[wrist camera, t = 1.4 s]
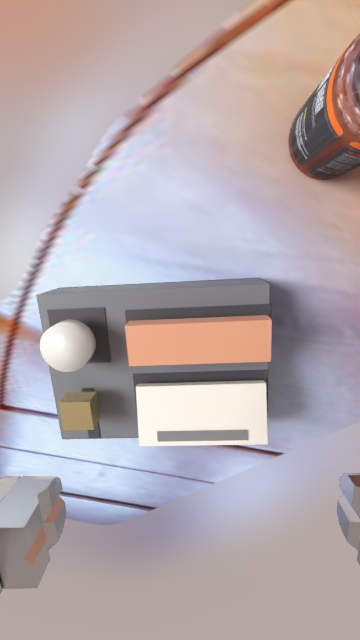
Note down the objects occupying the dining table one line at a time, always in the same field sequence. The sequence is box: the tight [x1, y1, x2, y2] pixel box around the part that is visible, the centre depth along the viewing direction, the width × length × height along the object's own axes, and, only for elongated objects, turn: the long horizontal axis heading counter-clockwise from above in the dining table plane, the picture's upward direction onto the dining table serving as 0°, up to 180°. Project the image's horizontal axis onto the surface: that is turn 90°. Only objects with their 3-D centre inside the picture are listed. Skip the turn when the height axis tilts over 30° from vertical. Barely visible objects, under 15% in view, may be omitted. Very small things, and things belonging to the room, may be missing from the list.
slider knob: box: [59, 392, 100, 430], centre depth 24 cm, size 2×2×2 cm
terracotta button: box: [125, 315, 272, 366], centre depth 21 cm, size 10×3×1 cm, turn 93°
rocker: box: [136, 380, 268, 446], centre depth 24 cm, size 10×5×1 cm, turn 93°
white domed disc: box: [40, 319, 96, 372], centre depth 22 cm, size 4×4×1 cm
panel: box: [36, 278, 271, 439], centre depth 26 cm, size 18×13×4 cm
